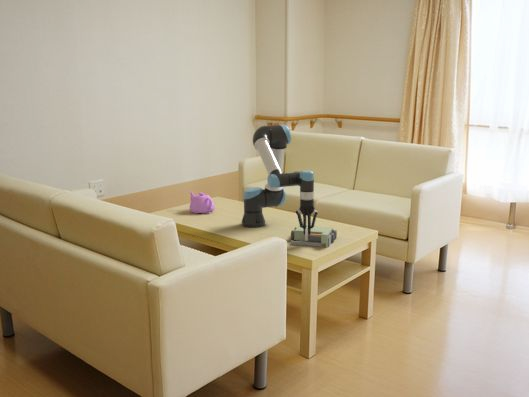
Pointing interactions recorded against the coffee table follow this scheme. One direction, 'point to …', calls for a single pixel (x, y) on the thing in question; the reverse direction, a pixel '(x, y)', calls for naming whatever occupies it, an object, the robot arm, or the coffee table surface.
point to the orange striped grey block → (314, 238)
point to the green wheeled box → (326, 233)
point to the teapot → (201, 203)
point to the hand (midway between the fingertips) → (307, 239)
